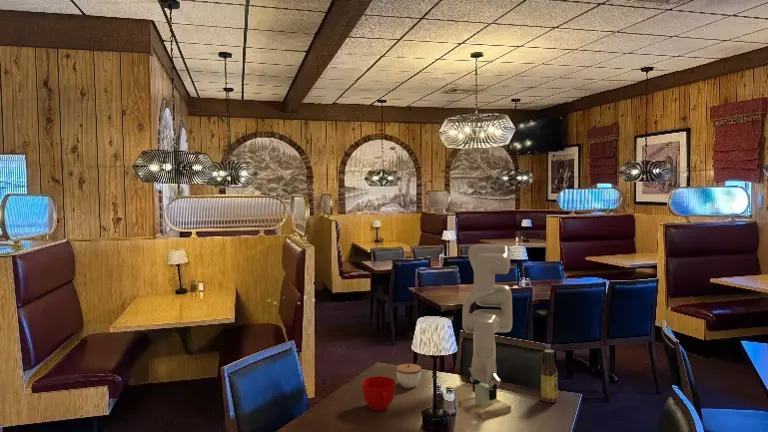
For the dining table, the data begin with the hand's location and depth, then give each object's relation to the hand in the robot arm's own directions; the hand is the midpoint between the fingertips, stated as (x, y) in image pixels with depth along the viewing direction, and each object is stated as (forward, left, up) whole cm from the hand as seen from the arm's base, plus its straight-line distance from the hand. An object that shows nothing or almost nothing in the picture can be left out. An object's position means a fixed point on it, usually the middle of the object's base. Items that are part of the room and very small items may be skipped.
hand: (484, 395), depth 210 cm
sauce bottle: (+6, +28, -6) cm, 29 cm away
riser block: (0, 0, -6) cm, 6 cm away
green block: (0, 0, -3) cm, 3 cm away
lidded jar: (-37, -11, -6) cm, 39 cm away
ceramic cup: (-21, -34, -6) cm, 40 cm away
